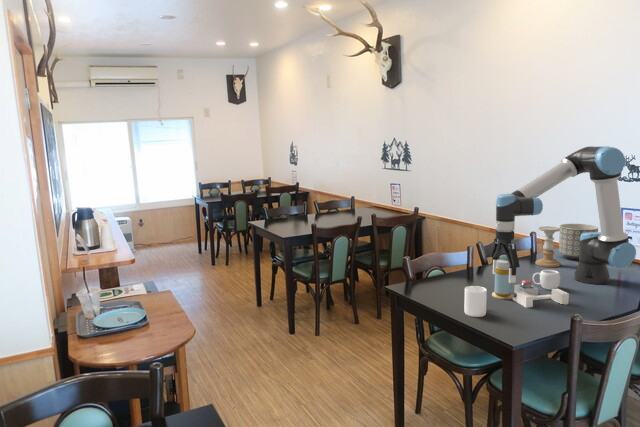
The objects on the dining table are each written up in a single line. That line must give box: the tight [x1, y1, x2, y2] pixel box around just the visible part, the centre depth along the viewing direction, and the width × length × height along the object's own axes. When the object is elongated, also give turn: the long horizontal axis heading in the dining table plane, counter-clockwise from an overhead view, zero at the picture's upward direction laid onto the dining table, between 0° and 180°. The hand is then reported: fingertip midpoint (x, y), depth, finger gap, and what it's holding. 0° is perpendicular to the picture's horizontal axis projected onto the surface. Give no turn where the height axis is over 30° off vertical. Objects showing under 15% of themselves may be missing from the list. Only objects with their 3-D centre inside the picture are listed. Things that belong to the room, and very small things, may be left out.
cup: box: [463, 285, 488, 318], centre depth 195 cm, size 8×12×10 cm
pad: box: [491, 291, 515, 300], centre depth 215 cm, size 9×9×1 cm
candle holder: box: [534, 225, 561, 268], centre depth 263 cm, size 12×12×20 cm
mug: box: [532, 269, 561, 291], centre depth 225 cm, size 12×8×8 cm
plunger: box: [520, 279, 532, 289], centre depth 216 cm, size 4×4×5 cm
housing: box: [512, 284, 570, 309], centre depth 210 cm, size 19×19×4 cm
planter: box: [558, 223, 599, 261], centre depth 275 cm, size 19×19×18 cm
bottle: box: [494, 258, 513, 297], centre depth 214 cm, size 7×7×15 cm
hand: (503, 278), depth 214 cm, fingers open, 13 cm apart
